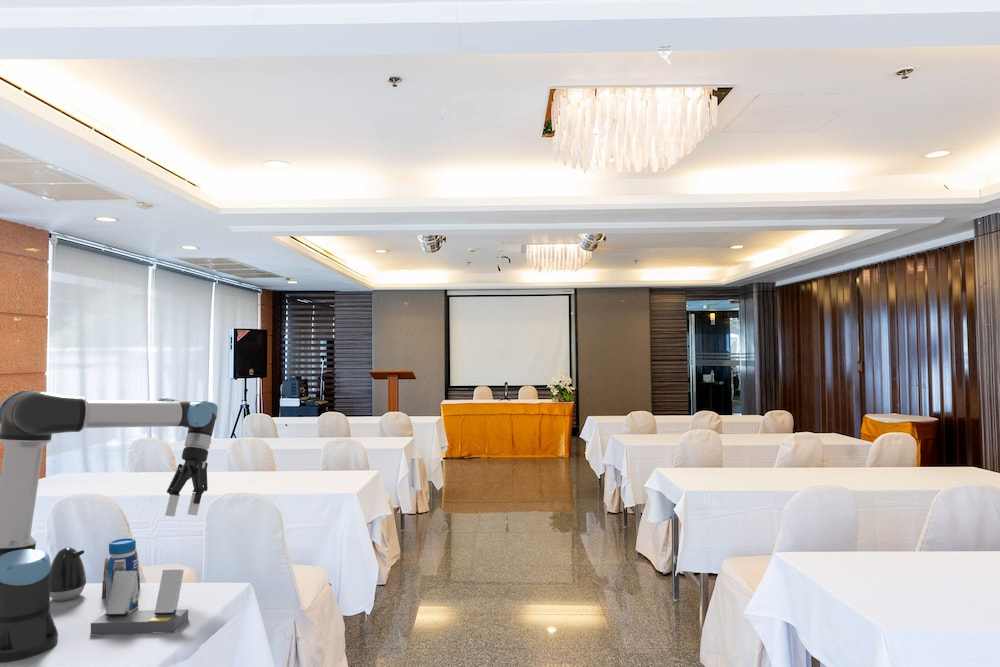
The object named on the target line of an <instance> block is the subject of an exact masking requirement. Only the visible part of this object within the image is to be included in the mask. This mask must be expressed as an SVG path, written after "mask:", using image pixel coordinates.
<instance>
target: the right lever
mask: <svg viewBox="0 0 1000 667" xmlns="http://www.w3.org/2000/svg"><path fill="white" fill-rule="evenodd" d="M184 571H185V570H184V569H162V573H161V579H160V583H159V584H160V585H159V589H158V594H157V599H156V603H155V609H154V610H155V615H175V614H176V610H178V605H179V599H180V593H181V589H182V583H183V577H184Z"/></svg>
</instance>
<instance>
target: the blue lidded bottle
mask: <svg viewBox="0 0 1000 667" xmlns="http://www.w3.org/2000/svg"><path fill="white" fill-rule="evenodd" d="M133 553H134V554H135V555H136V557H137V559H138V560H139V558H138V557H139V555H138V552H137V550H136V549H135V551H134V552H133ZM108 560H109V559H108V558H107V557H105V560H104V565H103V566H104V567H103V569H104V570H103V580H102V589H101V590H102V591H101V599H104V598H106V579H105V575H106V573H107V569H106V565H107V562H108ZM137 567H138V568H139V564H138V565H137ZM140 581H141V580H140V574H139V575H138V590H139V589H140V588H141V582H140Z"/></svg>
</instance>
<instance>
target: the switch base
mask: <svg viewBox="0 0 1000 667" xmlns="http://www.w3.org/2000/svg"><path fill="white" fill-rule="evenodd" d="M187 620H188V621H189V609H187V608H186V609H177V610H176V614H175V615H155V609H152V610H149V609H148V610H147V609H146V610H134V611H133V610H129V611H128V614H127V616H106V612H105V613H104V614H102V615H100V616H99V617H98V618H96V619H95V620H93V621H92V622H90V635H91V636H93V635H92V634H100V635H129V634H130V635H131V634H132V635H134V634H135V633H139V634H154V633H153V632H175V631H176V630H177V629H178V628H179V627H180V626H181V625H183V624H184V623H185V622H186V621H187ZM188 621H187V622H188ZM187 622H186V623H187ZM186 623H185V624H186ZM185 624H184V625H185ZM184 625H183V626H184ZM180 628H181V627H180ZM180 628H179V629H180ZM179 629H178V630H179ZM178 630H177V631H178ZM177 631H176V632H177ZM176 632H175V633H176Z"/></svg>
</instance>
